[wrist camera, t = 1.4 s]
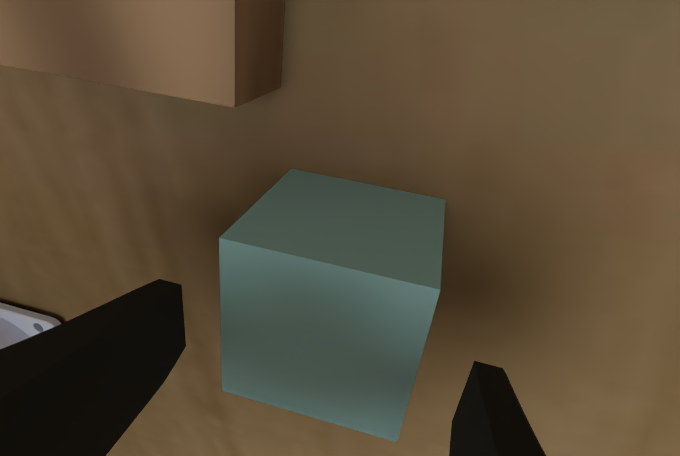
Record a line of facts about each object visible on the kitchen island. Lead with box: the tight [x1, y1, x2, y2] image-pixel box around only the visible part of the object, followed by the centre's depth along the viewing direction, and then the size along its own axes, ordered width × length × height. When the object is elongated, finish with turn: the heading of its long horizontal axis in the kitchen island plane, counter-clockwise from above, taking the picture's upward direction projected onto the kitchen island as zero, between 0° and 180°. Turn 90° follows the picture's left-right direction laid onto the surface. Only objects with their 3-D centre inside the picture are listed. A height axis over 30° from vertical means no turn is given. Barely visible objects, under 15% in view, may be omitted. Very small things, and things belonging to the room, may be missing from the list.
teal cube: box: [219, 168, 445, 442], centre depth 13 cm, size 5×5×5 cm
